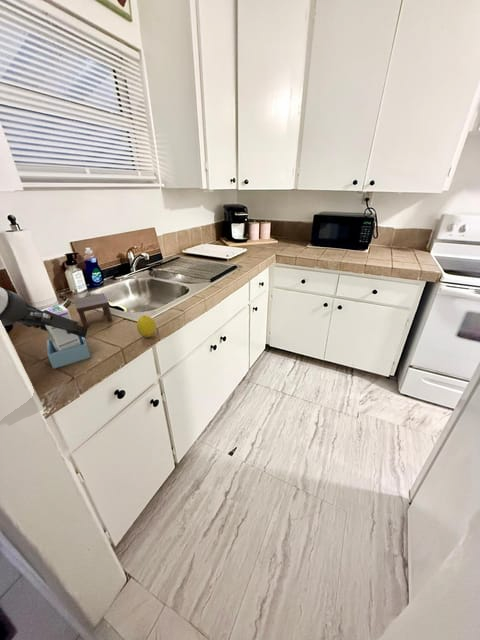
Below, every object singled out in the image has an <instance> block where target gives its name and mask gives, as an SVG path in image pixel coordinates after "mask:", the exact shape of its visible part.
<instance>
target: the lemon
mask: <svg viewBox="0 0 480 640" xmlns="http://www.w3.org/2000/svg"><path fill="white" fill-rule="evenodd" d="M136 328H137V332H138V333H139V334H140V336H141V337H145V338H151V336H153V335H154V333H155V332H156V323H155V321H154V319H153V318H152V317H151V316H149V315H146V314H144V315H142V316H141V317H139V318H138V320H137V322H136Z"/></svg>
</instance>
